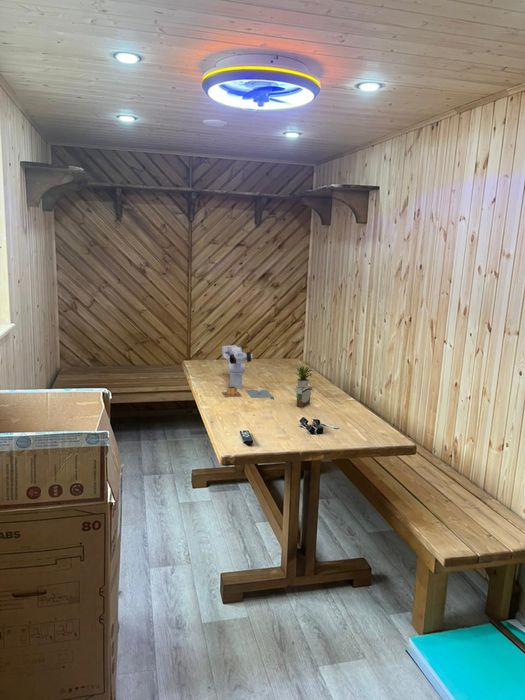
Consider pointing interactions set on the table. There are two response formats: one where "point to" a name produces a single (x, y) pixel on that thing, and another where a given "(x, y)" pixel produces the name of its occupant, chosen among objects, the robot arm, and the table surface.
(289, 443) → the table surface
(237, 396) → the stand
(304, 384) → the house plant
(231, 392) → the collar
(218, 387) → the table surface
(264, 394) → the board
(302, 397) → the food container
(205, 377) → the table surface
